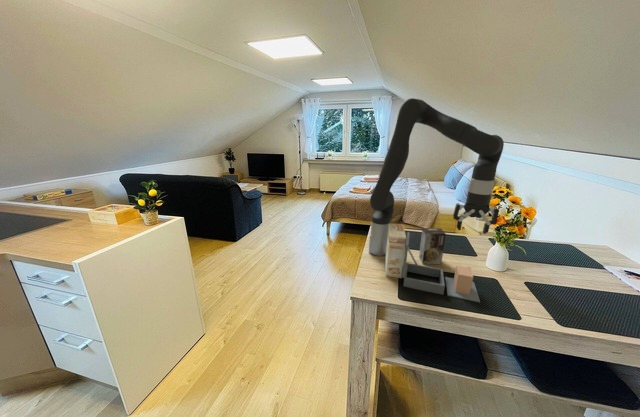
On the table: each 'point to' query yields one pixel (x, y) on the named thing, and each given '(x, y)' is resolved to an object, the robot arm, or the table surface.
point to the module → (463, 280)
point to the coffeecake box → (395, 250)
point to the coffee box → (432, 245)
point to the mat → (451, 292)
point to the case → (421, 270)
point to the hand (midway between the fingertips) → (471, 231)
